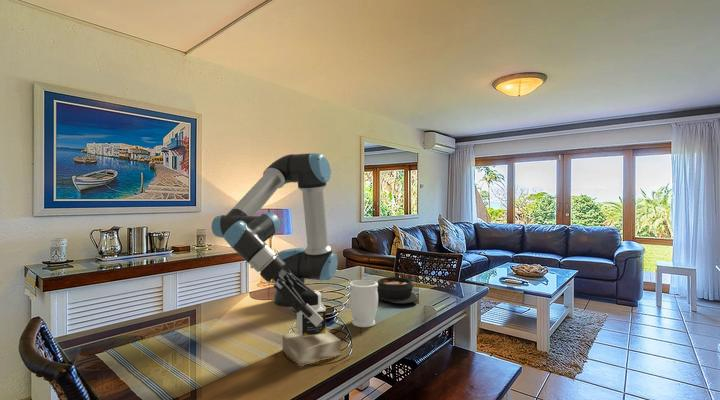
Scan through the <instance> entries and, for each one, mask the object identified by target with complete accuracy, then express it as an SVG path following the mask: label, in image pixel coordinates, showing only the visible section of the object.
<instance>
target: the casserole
mask: <svg viewBox="0 0 720 400" xmlns="http://www.w3.org/2000/svg"><path fill="white" fill-rule="evenodd" d="M377 282H378V286H377V292H378V300H381V301H383V302H387V303H393V304H397V305H398V304H399V305H402V304H411V303H414V302H417V301H418V298H417V296H416V294H415V293H414V292H412V291H413V288H414V287H415V286H414V284H413V282H412V280H411V279H408V278H405V277H398V276H397V277H396V276H395V277H394V276H391V277H390V276H389V277H383V278H380V279H378V280H377Z"/></svg>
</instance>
